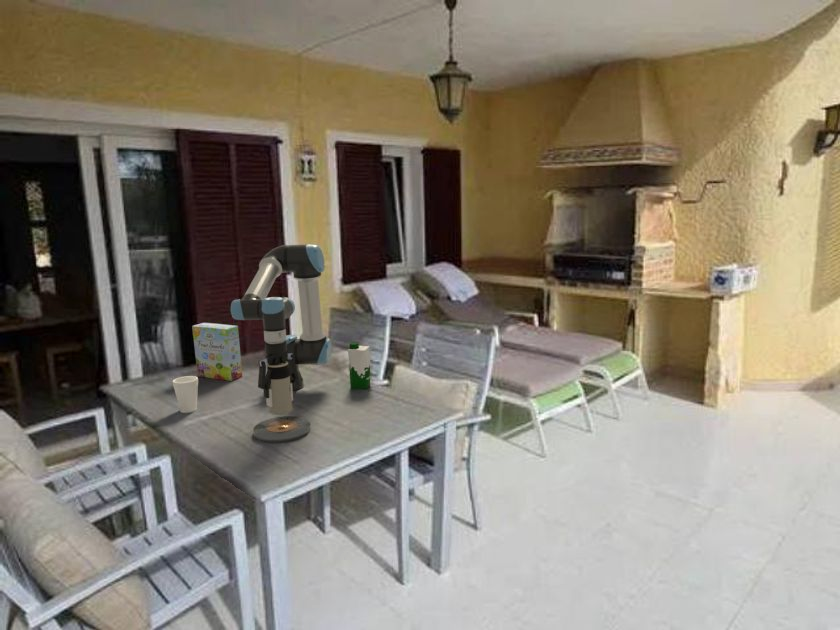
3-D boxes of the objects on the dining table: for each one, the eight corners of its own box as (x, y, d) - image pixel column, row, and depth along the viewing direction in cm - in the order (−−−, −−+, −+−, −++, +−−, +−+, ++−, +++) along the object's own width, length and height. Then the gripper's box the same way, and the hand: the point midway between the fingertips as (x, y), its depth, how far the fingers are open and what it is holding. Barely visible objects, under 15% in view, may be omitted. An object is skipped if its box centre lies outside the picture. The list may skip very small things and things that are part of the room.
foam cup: (178, 416, 222) (175, 384, 219) (174, 409, 229) (170, 378, 227) (203, 410, 227) (200, 380, 224) (198, 404, 235) (195, 374, 232)
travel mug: (267, 415, 198) (263, 366, 195) (272, 407, 206) (268, 360, 203) (289, 414, 199) (286, 366, 195) (294, 407, 206) (290, 359, 203)
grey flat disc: (289, 417, 218) (289, 411, 217) (321, 430, 204) (320, 424, 204) (243, 432, 204) (242, 427, 203) (273, 448, 190) (273, 441, 190)
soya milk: (353, 383, 258) (351, 340, 254) (372, 383, 257) (371, 341, 253) (348, 389, 250) (345, 345, 246) (367, 389, 248) (365, 346, 244)
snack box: (196, 377, 273) (190, 325, 268) (209, 372, 281) (204, 322, 276) (231, 381, 264) (226, 328, 260) (243, 376, 272) (239, 324, 267)
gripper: (255, 348, 188) (260, 413, 192) (306, 337, 202) (309, 397, 207) (243, 345, 193) (248, 408, 197) (294, 334, 207) (298, 393, 212)
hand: (280, 402), depth 202 cm, fingers closed on travel mug, 8 cm apart
